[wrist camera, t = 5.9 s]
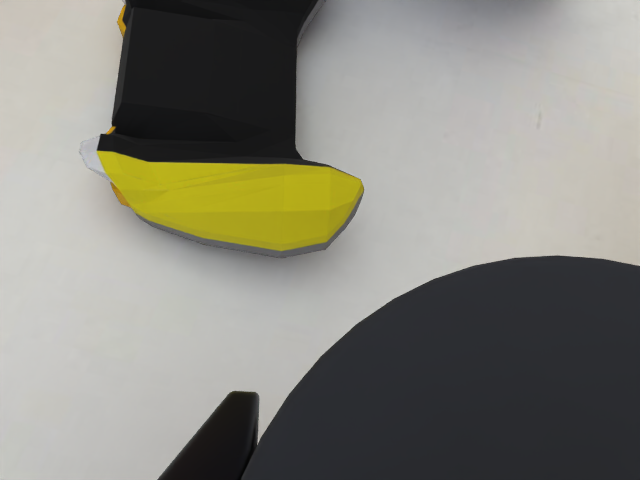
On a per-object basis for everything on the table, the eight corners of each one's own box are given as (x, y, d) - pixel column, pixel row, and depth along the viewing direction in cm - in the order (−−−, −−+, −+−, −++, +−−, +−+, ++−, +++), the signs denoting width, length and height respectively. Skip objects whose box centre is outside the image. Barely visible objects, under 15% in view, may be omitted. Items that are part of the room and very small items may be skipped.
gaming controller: (345, -16, 28) (139, -27, 28) (360, -119, 23) (107, -136, 22) (350, 277, 23) (99, 272, 23) (371, 230, 18) (45, 222, 17)
